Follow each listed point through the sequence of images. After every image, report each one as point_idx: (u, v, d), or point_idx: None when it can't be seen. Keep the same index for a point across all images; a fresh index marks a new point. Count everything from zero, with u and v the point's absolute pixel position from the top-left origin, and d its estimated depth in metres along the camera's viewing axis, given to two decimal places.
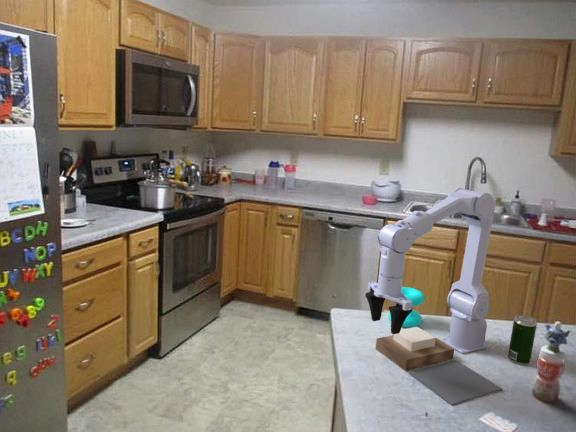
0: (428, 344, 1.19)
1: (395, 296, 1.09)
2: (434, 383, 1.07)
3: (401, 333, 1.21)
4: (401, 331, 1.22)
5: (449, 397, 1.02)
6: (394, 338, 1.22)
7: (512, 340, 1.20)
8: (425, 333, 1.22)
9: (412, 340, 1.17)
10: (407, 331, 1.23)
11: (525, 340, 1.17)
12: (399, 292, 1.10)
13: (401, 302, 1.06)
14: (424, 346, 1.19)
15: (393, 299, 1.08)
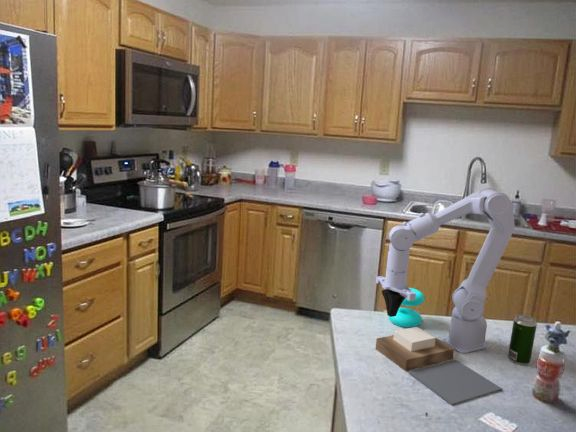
0: (428, 344, 1.19)
1: (400, 288, 1.24)
2: (434, 383, 1.07)
3: (401, 333, 1.21)
4: (401, 331, 1.22)
5: (449, 397, 1.02)
6: (394, 338, 1.22)
7: (512, 340, 1.20)
8: (425, 333, 1.22)
9: (412, 340, 1.17)
10: (407, 331, 1.23)
11: (525, 340, 1.17)
12: (404, 285, 1.25)
13: (406, 293, 1.22)
14: (424, 346, 1.19)
15: (399, 291, 1.23)
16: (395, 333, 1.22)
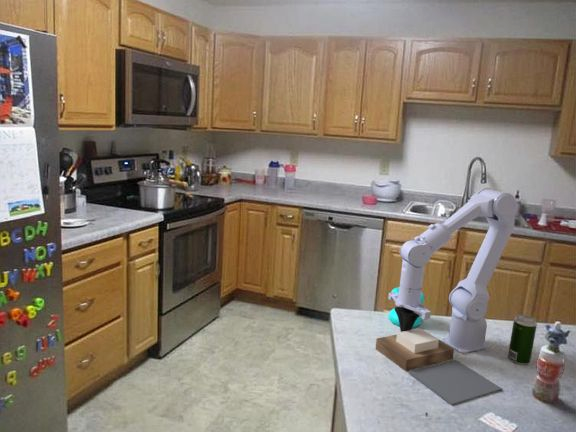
0: (431, 346, 1.18)
1: (415, 306, 1.20)
2: (434, 383, 1.07)
3: (404, 335, 1.20)
4: (404, 333, 1.21)
5: (449, 397, 1.02)
6: (397, 340, 1.21)
7: (512, 340, 1.20)
8: (428, 335, 1.21)
9: (415, 342, 1.16)
10: (410, 333, 1.22)
11: (525, 340, 1.17)
12: (418, 303, 1.20)
13: (421, 312, 1.17)
14: (427, 348, 1.18)
15: (413, 309, 1.18)
16: (398, 335, 1.21)
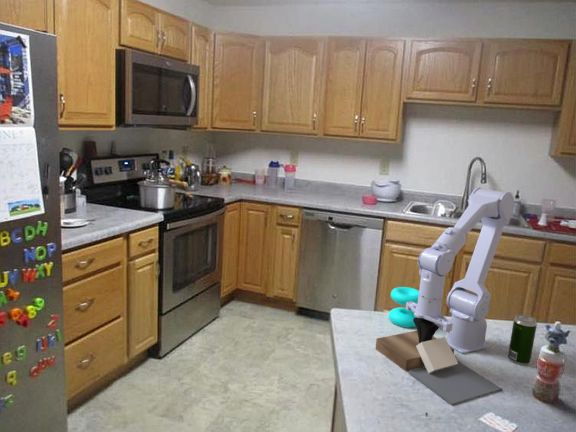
0: (447, 367, 1.14)
1: (435, 317, 1.13)
2: (434, 383, 1.07)
3: (427, 348, 1.13)
4: (428, 344, 1.14)
5: (449, 397, 1.02)
6: (417, 346, 1.15)
7: (513, 340, 1.20)
8: (450, 352, 1.15)
9: (435, 365, 1.11)
10: (433, 345, 1.14)
11: (525, 340, 1.17)
12: (438, 313, 1.14)
13: (442, 323, 1.11)
14: (443, 368, 1.13)
15: (433, 320, 1.12)
16: (421, 345, 1.13)
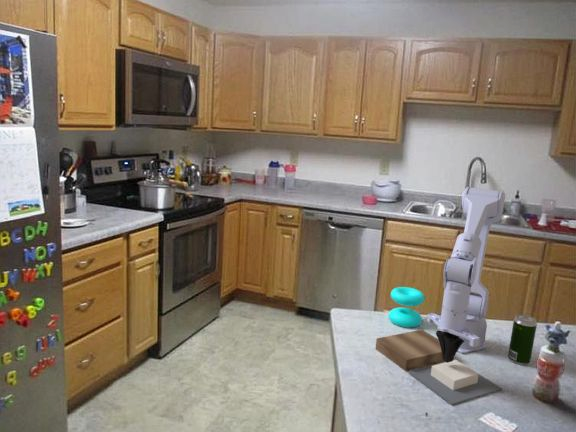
0: (471, 381, 1.07)
1: (460, 331, 1.06)
2: (434, 383, 1.07)
3: (440, 368, 1.09)
4: (439, 366, 1.11)
5: (449, 397, 1.02)
6: (431, 374, 1.11)
7: (513, 340, 1.20)
8: (466, 368, 1.10)
9: (453, 378, 1.06)
10: (445, 366, 1.11)
11: (525, 340, 1.17)
12: (464, 327, 1.07)
13: (468, 338, 1.04)
14: (466, 383, 1.07)
15: (459, 334, 1.05)
16: (433, 368, 1.10)
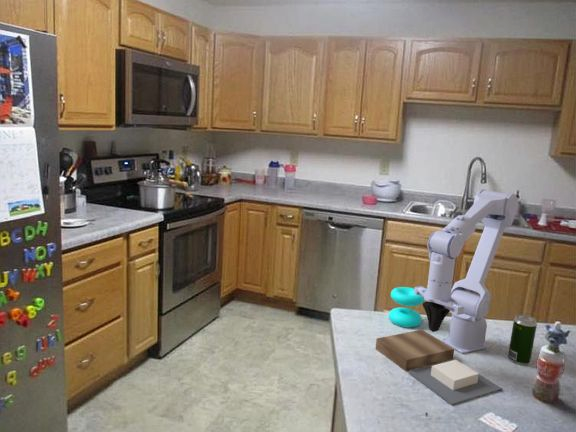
0: (471, 381, 1.07)
1: (445, 301, 1.12)
2: (434, 383, 1.07)
3: (440, 368, 1.09)
4: (439, 366, 1.11)
5: (449, 397, 1.02)
6: (431, 374, 1.11)
7: (513, 340, 1.20)
8: (466, 368, 1.10)
9: (453, 378, 1.06)
10: (445, 366, 1.11)
11: (525, 340, 1.17)
12: (449, 297, 1.12)
13: (453, 307, 1.09)
14: (466, 383, 1.07)
15: (444, 304, 1.10)
16: (433, 368, 1.10)
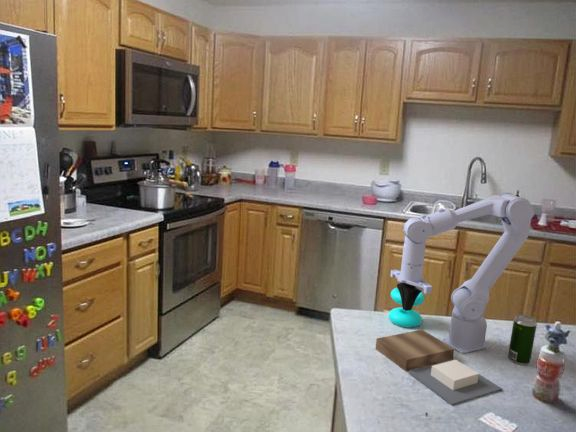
0: (471, 381, 1.07)
1: (416, 282, 1.22)
2: (434, 383, 1.07)
3: (440, 368, 1.09)
4: (439, 366, 1.11)
5: (449, 397, 1.02)
6: (431, 374, 1.11)
7: (512, 340, 1.20)
8: (466, 368, 1.10)
9: (453, 378, 1.06)
10: (445, 366, 1.11)
11: (525, 340, 1.17)
12: (420, 278, 1.23)
13: (422, 287, 1.20)
14: (466, 383, 1.07)
15: (415, 284, 1.21)
16: (433, 368, 1.10)
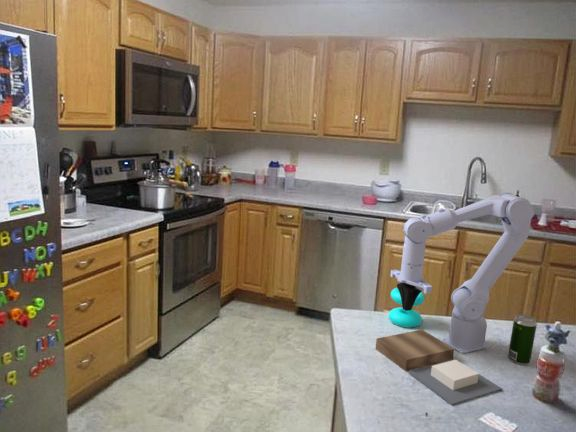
0: (471, 381, 1.07)
1: (416, 282, 1.22)
2: (434, 383, 1.07)
3: (440, 368, 1.09)
4: (439, 366, 1.11)
5: (449, 397, 1.02)
6: (431, 374, 1.11)
7: (512, 340, 1.20)
8: (466, 368, 1.10)
9: (453, 378, 1.06)
10: (445, 366, 1.11)
11: (525, 340, 1.17)
12: (420, 278, 1.23)
13: (422, 287, 1.20)
14: (466, 383, 1.07)
15: (415, 284, 1.21)
16: (433, 368, 1.10)
